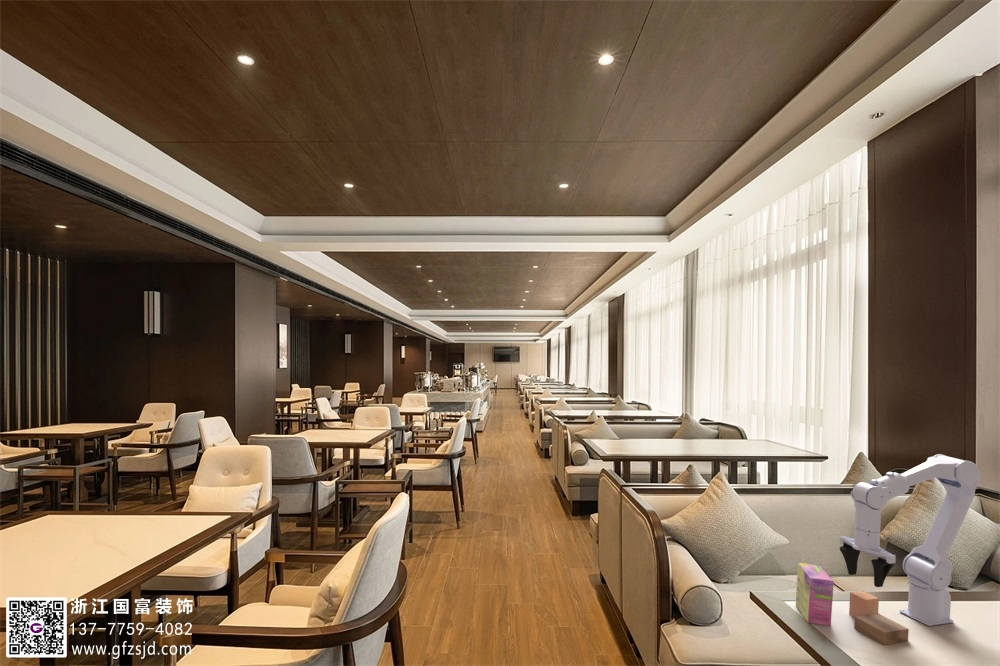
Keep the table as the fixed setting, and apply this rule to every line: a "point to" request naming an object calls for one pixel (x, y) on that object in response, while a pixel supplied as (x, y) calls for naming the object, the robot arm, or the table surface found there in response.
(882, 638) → the walnut slab
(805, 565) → the box
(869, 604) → the peach cube
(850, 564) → the robot arm
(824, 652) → the table surface
